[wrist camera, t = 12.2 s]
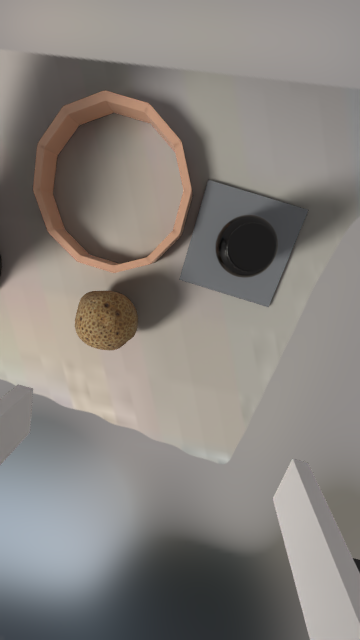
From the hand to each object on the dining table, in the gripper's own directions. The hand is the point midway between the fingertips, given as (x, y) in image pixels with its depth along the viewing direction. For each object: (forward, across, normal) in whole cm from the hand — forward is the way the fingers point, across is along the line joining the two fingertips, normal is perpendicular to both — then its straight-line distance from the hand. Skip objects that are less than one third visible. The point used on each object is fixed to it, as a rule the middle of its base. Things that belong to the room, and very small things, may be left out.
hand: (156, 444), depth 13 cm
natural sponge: (+29, -11, -4) cm, 31 cm away
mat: (+29, +5, +10) cm, 31 cm away
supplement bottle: (+28, +5, +10) cm, 31 cm away
